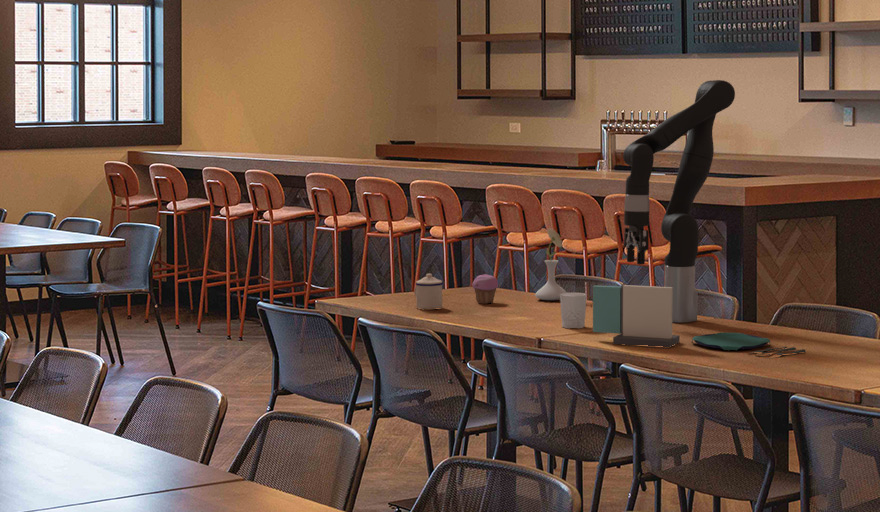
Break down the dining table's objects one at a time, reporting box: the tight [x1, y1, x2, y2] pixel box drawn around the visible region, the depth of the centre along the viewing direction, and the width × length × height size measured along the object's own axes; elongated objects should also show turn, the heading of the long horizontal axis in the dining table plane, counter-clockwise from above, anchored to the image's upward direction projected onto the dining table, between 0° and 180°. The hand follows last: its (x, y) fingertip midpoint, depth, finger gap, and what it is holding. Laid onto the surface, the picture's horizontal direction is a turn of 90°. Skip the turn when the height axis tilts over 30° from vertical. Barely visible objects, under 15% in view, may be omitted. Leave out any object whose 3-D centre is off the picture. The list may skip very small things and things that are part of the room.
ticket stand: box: [612, 284, 680, 347], centre depth 345 cm, size 16×10×16 cm, turn 64°
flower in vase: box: [534, 227, 568, 302], centre depth 432 cm, size 13×11×25 cm
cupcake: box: [471, 273, 499, 305], centre depth 427 cm, size 9×9×10 cm
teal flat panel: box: [592, 284, 621, 335], centre depth 350 cm, size 8×2×13 cm, turn 64°
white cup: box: [559, 292, 587, 329], centre depth 375 cm, size 8×8×10 cm
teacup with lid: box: [414, 273, 443, 309], centre depth 417 cm, size 12×9×12 cm
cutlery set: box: [691, 331, 806, 355], centre depth 337 cm, size 20×30×2 cm, turn 31°
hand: (635, 263), depth 377 cm, fingers open, 8 cm apart
